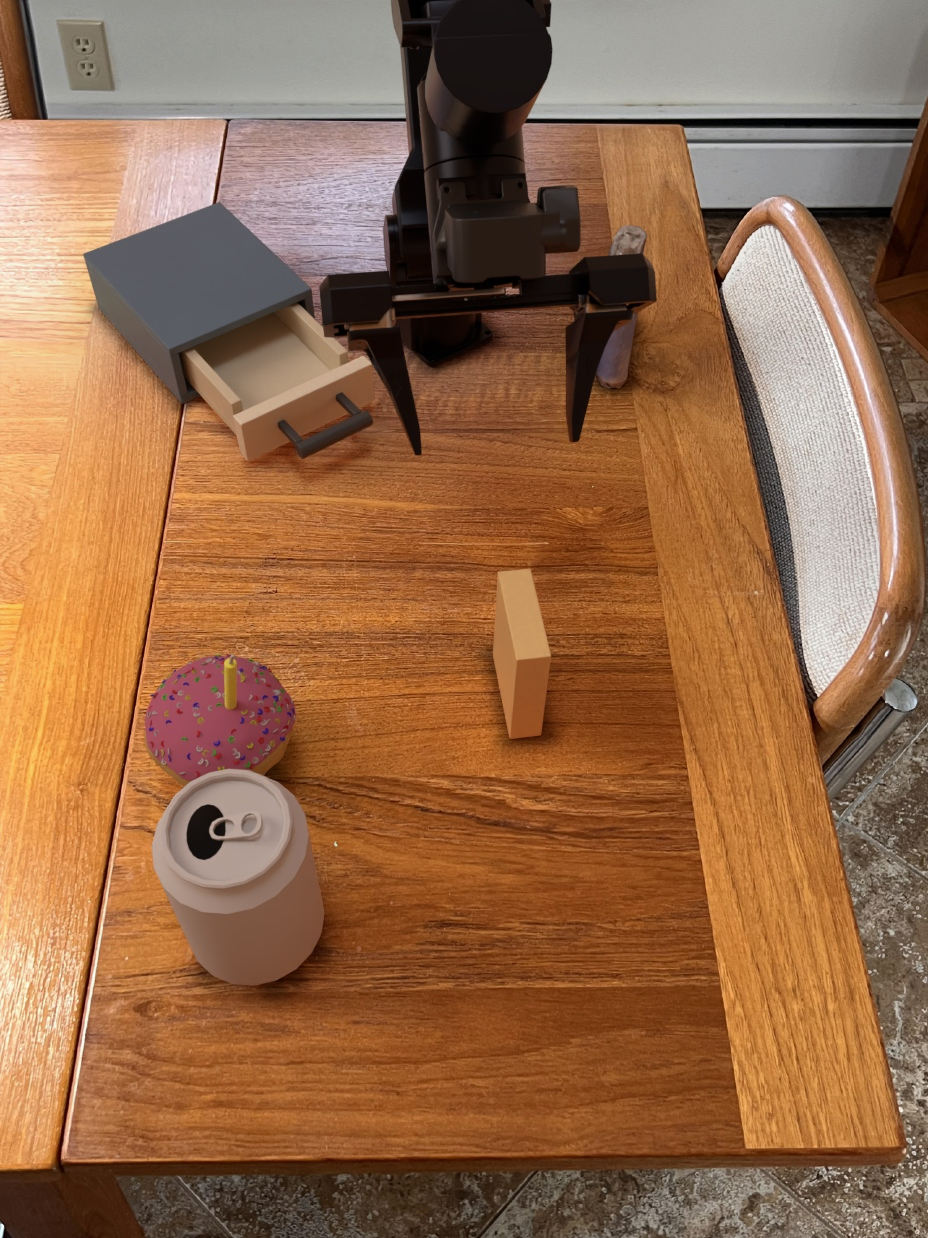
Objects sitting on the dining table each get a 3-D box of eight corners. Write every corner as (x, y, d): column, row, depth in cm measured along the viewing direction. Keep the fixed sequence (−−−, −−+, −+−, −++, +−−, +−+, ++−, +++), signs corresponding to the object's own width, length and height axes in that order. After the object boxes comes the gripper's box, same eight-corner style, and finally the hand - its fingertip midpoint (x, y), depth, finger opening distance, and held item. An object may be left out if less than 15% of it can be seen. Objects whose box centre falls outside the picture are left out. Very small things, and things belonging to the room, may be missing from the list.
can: (193, 866, 66) (150, 759, 56) (325, 857, 66) (305, 749, 57) (185, 997, 61) (137, 904, 52) (326, 986, 62) (305, 892, 52)
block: (492, 654, 75) (497, 571, 68) (522, 651, 75) (530, 567, 68) (509, 739, 71) (516, 660, 64) (541, 735, 71) (551, 656, 64)
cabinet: (318, 343, 94) (312, 288, 89) (181, 404, 89) (168, 349, 85) (229, 256, 100) (219, 201, 96) (98, 308, 96) (82, 253, 91)
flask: (626, 391, 91) (645, 275, 82) (589, 387, 91) (603, 271, 82) (633, 318, 96) (651, 202, 88) (598, 314, 96) (612, 199, 88)
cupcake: (323, 724, 72) (305, 605, 62) (265, 842, 67) (235, 733, 57) (198, 685, 73) (162, 564, 64) (132, 798, 68) (82, 684, 59)
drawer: (403, 428, 86) (402, 391, 83) (275, 492, 82) (268, 455, 79) (283, 311, 95) (278, 273, 92) (161, 363, 90) (151, 325, 88)
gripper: (303, 137, 56) (335, 459, 58) (676, 116, 58) (694, 429, 60) (310, 194, 67) (336, 463, 69) (623, 174, 69) (639, 437, 71)
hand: (496, 448), depth 67 cm, fingers open, 9 cm apart
